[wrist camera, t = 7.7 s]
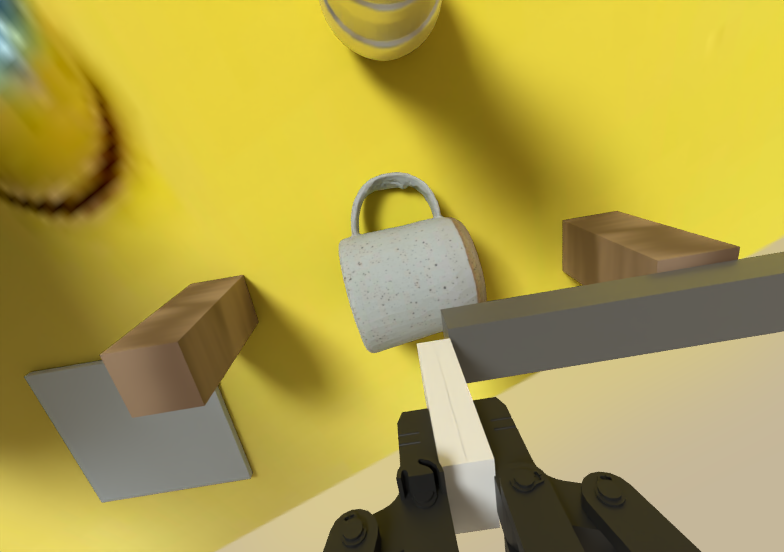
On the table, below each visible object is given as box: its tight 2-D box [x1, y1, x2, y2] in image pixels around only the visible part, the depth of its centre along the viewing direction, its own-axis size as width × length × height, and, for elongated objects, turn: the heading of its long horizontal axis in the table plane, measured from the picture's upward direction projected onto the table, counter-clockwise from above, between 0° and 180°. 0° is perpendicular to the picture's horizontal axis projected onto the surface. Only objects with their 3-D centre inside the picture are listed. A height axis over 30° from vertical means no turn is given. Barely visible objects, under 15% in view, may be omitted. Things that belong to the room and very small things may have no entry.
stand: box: [100, 211, 740, 418], centre depth 23 cm, size 32×4×10 cm, turn 99°
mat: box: [24, 360, 253, 502], centre depth 31 cm, size 14×14×1 cm
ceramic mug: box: [339, 172, 486, 353], centre depth 24 cm, size 11×8×8 cm
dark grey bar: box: [440, 252, 784, 383], centre depth 17 cm, size 22×3×2 cm, turn 99°
